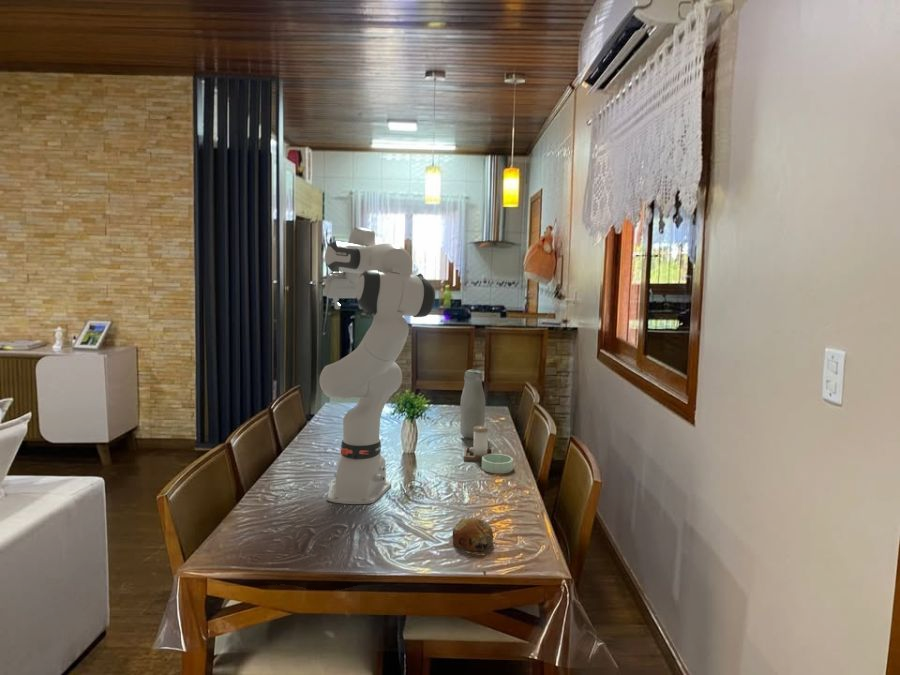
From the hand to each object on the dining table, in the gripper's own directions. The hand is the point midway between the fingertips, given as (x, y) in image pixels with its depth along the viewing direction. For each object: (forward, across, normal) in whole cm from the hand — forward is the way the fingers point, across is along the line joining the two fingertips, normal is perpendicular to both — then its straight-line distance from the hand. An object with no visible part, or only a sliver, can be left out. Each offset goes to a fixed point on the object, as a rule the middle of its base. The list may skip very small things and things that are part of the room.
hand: (349, 308), depth 217 cm
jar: (+35, +35, -50) cm, 71 cm away
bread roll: (+18, -5, -98) cm, 99 cm away
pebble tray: (+37, +36, -49) cm, 71 cm away
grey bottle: (+45, +49, -28) cm, 72 cm away
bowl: (+32, +34, -61) cm, 77 cm away
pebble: (+37, +36, -45) cm, 68 cm away
